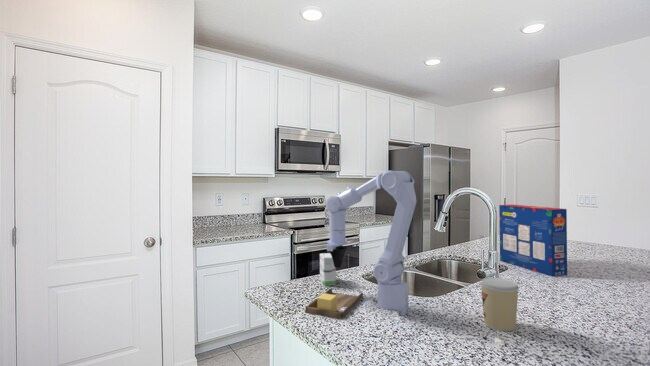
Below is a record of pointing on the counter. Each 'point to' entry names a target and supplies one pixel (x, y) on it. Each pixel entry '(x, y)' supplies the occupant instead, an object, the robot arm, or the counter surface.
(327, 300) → the block
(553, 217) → the blue cardboard box
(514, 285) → the coffee cup
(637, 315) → the counter surface
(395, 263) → the robot arm
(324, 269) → the ink box
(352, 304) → the wooden serving tray
